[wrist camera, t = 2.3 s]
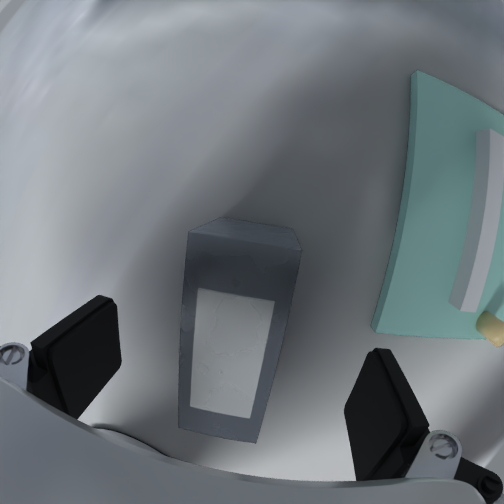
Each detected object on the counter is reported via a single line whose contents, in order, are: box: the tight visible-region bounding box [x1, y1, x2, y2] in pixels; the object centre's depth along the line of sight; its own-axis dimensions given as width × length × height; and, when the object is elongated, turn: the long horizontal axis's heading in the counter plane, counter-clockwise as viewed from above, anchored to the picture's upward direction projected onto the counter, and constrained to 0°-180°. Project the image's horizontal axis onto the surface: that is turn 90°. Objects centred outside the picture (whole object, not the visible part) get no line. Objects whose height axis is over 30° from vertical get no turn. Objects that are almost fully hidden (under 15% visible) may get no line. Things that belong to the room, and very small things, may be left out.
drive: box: [178, 217, 302, 443], centre depth 14 cm, size 10×4×6 cm, turn 171°
